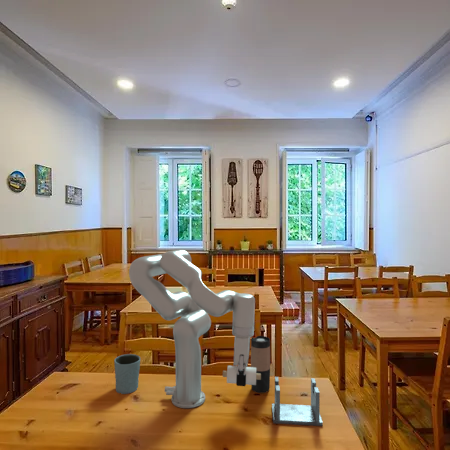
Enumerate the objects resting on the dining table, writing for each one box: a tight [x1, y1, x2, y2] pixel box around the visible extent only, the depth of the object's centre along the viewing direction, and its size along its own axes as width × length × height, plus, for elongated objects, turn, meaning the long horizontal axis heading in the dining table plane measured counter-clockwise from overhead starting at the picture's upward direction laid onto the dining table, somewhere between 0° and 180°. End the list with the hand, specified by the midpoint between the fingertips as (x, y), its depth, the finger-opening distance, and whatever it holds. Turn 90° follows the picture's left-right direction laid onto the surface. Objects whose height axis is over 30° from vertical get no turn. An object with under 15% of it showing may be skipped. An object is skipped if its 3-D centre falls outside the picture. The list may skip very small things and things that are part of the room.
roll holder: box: [271, 376, 323, 427], centre depth 116 cm, size 16×10×11 cm, turn 84°
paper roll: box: [222, 365, 261, 386], centre depth 118 cm, size 13×6×6 cm, turn 84°
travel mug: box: [250, 335, 271, 394], centre depth 135 cm, size 8×8×20 cm
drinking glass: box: [113, 353, 141, 395], centre depth 135 cm, size 10×10×12 cm
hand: (241, 380), depth 118 cm, fingers closed on paper roll, 5 cm apart
